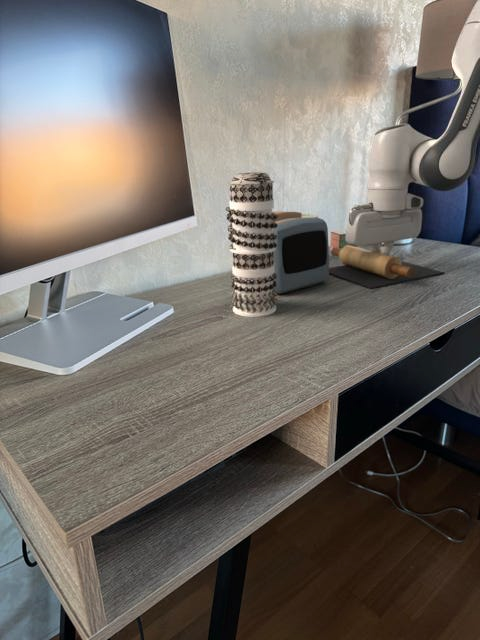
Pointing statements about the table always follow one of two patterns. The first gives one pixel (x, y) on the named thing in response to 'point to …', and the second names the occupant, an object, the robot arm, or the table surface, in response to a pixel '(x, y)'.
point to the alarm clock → (299, 251)
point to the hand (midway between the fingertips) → (381, 260)
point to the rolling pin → (372, 262)
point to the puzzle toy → (338, 239)
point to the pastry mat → (379, 281)
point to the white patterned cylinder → (252, 244)
